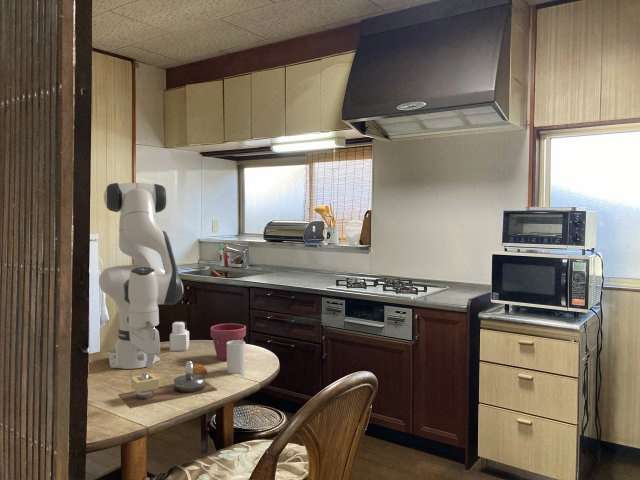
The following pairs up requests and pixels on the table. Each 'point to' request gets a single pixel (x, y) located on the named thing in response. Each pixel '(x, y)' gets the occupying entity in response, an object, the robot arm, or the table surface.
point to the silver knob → (145, 394)
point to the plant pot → (226, 337)
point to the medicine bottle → (179, 336)
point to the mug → (236, 357)
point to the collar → (144, 383)
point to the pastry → (199, 370)
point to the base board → (160, 395)
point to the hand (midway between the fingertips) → (145, 363)
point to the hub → (189, 381)
